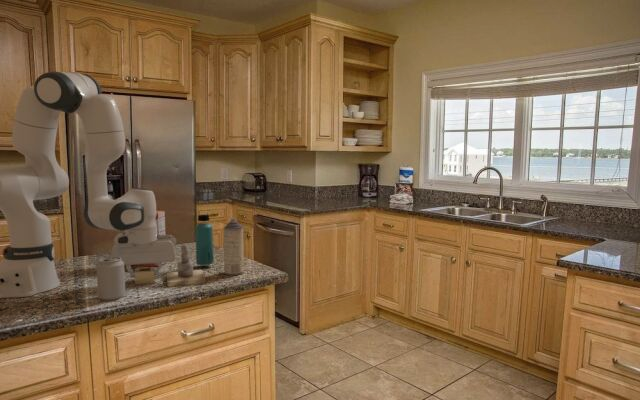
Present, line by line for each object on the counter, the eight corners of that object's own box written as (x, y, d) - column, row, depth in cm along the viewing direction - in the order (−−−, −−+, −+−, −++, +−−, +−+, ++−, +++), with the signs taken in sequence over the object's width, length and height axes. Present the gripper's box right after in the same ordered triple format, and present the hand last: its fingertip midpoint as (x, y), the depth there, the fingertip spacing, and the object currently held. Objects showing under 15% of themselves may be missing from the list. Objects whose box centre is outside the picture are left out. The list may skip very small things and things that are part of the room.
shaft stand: (167, 286, 142) (166, 250, 141) (166, 276, 154) (165, 243, 152) (205, 283, 147) (204, 247, 145) (202, 273, 158) (201, 240, 156)
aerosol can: (247, 272, 159) (246, 218, 157) (232, 276, 154) (231, 220, 152) (235, 269, 164) (235, 216, 161) (220, 273, 158) (219, 218, 156)
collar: (135, 284, 144) (134, 272, 144) (135, 279, 150) (135, 268, 150) (154, 282, 147) (154, 271, 146) (154, 277, 152) (154, 266, 152)
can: (106, 293, 136) (104, 255, 135) (130, 293, 136) (128, 255, 134) (93, 301, 129) (90, 261, 127) (118, 301, 128) (116, 261, 127)
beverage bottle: (209, 269, 163) (208, 216, 161) (192, 268, 164) (191, 215, 162) (216, 265, 169) (215, 213, 167) (201, 264, 171) (199, 213, 168)
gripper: (176, 232, 153) (177, 271, 154) (111, 235, 146) (113, 276, 148) (175, 236, 147) (177, 276, 148) (108, 239, 140) (110, 281, 142)
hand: (144, 276), depth 148 cm, fingers closed on collar, 6 cm apart
